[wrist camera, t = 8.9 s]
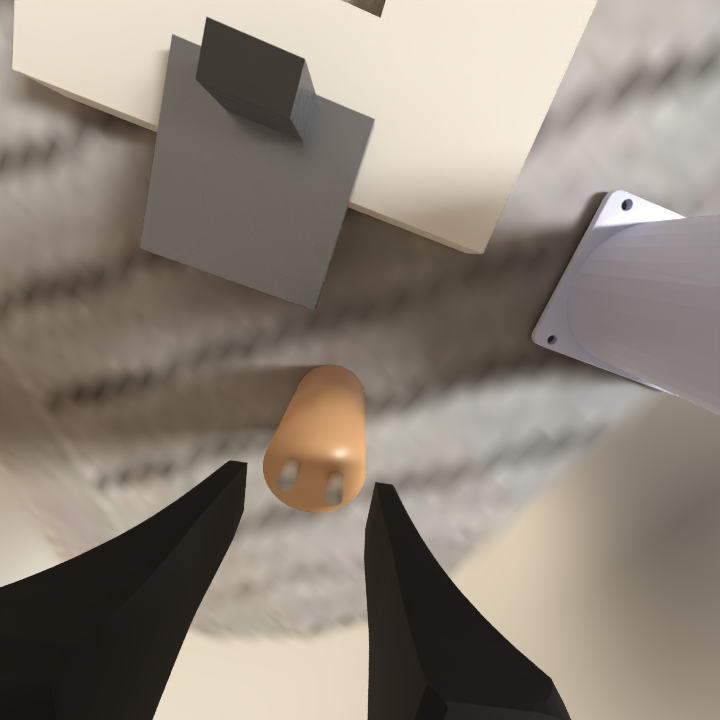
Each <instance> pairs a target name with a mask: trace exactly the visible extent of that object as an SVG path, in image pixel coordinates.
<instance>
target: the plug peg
mask: <svg viewBox="0 0 720 720" xmlns="http://www.w3.org/2000/svg"><path fill="white" fill-rule="evenodd" d="M365 472H366V460H365V392H364V388H363V386H362V384H361V382H360V380H359V379H358V378H357V377H356V376H355V375H354V374H353V373H352V372H351V371H349V370H347V369H345V368H343V367H340V366H335V365H324V366H320V367H317V368H314V369H313V370H311V371H309V372H308V373H307V374H306V375H305V376H304V377H303V378H302V380H301V381H300V383H299V385H298V387H297V389H296V391H295V393H294V396H293V398H292V400H291V402H290V404H289V406H288V408H287V410H286V412H285V414H284V416H283V418H282V420H281V422H280V424H279V426H278V428H277V430H276V433H275V435H274V437H273V439H272V441H271V443H270V445H269V447H268V449H267V451H266V454H265V457H264V461H263V473H264V477H265V480H266V483H267V485H268V487H269V488H270V490H271V491H272V493H273V494H274V495H275V496H276V497H277V498H278V499H279V500H281V501H282V502H283V503H285V504H286V505H288V506H290V507H292V508H295V509H297V510H300V511H305V512H311V513H322V512H329V511H333V510H336V509H339V508H341V507H343V506H345V505H346V504H348V503H349V502H350V501H352V500H353V499H354V498H355V497H356V496H357V494H358V493H359V492H360V490H361V488H362V486H363V483H364V480H365Z"/></svg>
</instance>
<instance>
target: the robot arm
mask: <svg viewBox="0 0 720 720" xmlns="http://www.w3.org/2000/svg"><path fill="white" fill-rule="evenodd" d="M623 201H626V204H627V206H626V209H625V210H622V207H621V205H622V202H623ZM552 335H553V340H552V341H551V342H550V343H548V342H547V340H548V338H549V337H550V336H552ZM531 337H532V341H533V342H534V343H536V344H537V345H540V346H542V347H545V348H548V349H550V350H553V351H556V352H558V353H561V354H564V355H566V356H569V357H572V358H575V359H577V360H580V361H583V362H585V363H588V364H591V365H593V366H596V367H599V368H602V369H604V370H607V371H610V372H612V373H615V374H618V375H620V376H623V377H626V378H628V379H631V380H634V381H637V382H639V383H642V384H645V385H647V386H650V387H653V388H655V389H658V390H661V391H663V392H666V393H669V394H672V395H675V396H679V397H681V398H684V399H686V400H688V401H690V402H692V403H695V404H697V405H699V406H701V407H703V408H705V409H707V410H710V411H712V412H714V413H716V414H718V415H720V214H719V215H709V216H700V217H690V218H687V217H684V216H682V215H680V214H677V213H675V212H673V211H670V210H668V209H666V208H663V207H661V206H659V205H656V204H654V203H652V202H650V201H647V200H645V199H643V198H640V197H638V196H636V195H633V194H631V193H629V192H626V191H624V190H615V191H611V192H609V193H608V194H606V196H605V197H604V199H603V200H602V202H601V204H600V206H599V208H598V210H597V212H596V214H595V215H594V217H593V219H592V221H591V223H590V225H589V227H588V229H587V231H586V232H585V234H584V236H583V238H582V240H581V242H580V244H579V246H578V247H577V249H576V251H575V253H574V255H573V257H572V259H571V261H570V263H569V264H568V266H567V268H566V270H565V272H564V274H563V276H562V278H561V279H560V281H559V283H558V285H557V287H556V289H555V291H554V293H553V295H552V296H551V298H550V300H549V302H548V304H547V306H546V308H545V310H544V311H543V313H542V315H541V317H540V319H539V321H538V323H537V325H536V327H535V328H534V330H533V332H532V335H531ZM246 475H247V463H245V462H238V461H231V460H230V461H228V462H227V463H225V464H224V465H223V466H221V467H220V468H219V469H218V470H216V471H215V472H214V473H213V474H211V475H210V476H209V477H207V478H206V479H205V480H203V481H202V482H201V483H200V484H198V485H197V486H195V487H194V488H193V489H191V490H190V491H189V492H187V493H186V494H185V495H183V496H182V497H180V498H179V499H178V500H176V501H175V502H173V503H172V504H170V505H169V506H167V507H166V508H164V509H163V510H161V511H160V512H158V513H157V514H155V515H154V516H152V517H150V518H149V519H147V520H146V521H144V522H142V523H141V524H139V525H137V526H135V527H134V528H132V529H130V530H128V531H126V532H125V533H123V534H121V535H119V536H117V537H115V538H113V539H111V540H109V541H107V542H105V543H103V544H101V545H99V546H97V547H95V548H93V549H91V550H89V551H87V552H85V553H83V554H81V555H79V556H77V557H74V558H72V559H70V560H68V561H65V562H63V563H61V564H59V565H56V566H54V567H52V568H49V569H47V570H45V571H42V572H40V573H37V574H35V575H32V576H30V577H27V578H25V579H22V580H19V581H17V582H14V583H11V584H8V585H6V586H3V587H0V720H153V717H154V715H155V712H156V709H157V707H158V704H159V701H160V699H161V696H162V694H163V691H164V689H165V686H166V684H167V681H168V679H169V676H170V674H171V671H172V668H173V666H174V663H175V661H176V659H177V656H178V654H179V651H180V649H181V646H182V644H183V641H184V639H185V637H186V634H187V632H188V629H189V627H190V624H191V622H192V620H193V618H194V616H195V614H196V611H197V609H198V607H199V605H200V603H201V601H202V599H203V597H204V595H205V593H206V591H207V589H208V588H209V586H210V584H211V582H212V580H213V578H214V576H215V574H216V572H217V570H218V568H219V566H220V564H221V562H222V560H223V558H224V556H225V554H226V552H227V550H228V548H229V546H230V544H231V542H232V540H233V538H234V535H235V533H236V530H237V527H238V525H239V522H240V519H241V516H242V514H243V511H244V500H245V488H246ZM364 564H365V580H366V596H367V611H368V627H369V685H368V686H369V688H368V720H571V718H570V716H569V714H568V712H567V709H566V707H565V705H564V703H563V701H562V699H561V697H560V695H559V693H558V691H557V689H556V687H555V685H554V683H553V681H552V679H551V678H550V677H549V676H547V675H546V674H545V673H544V672H543V671H542V670H541V669H539V668H538V667H537V666H536V665H535V664H534V663H533V662H531V661H530V660H529V659H528V658H527V657H526V656H524V655H523V654H522V653H521V652H520V651H519V650H517V649H516V648H515V647H514V646H513V645H512V644H511V643H510V642H509V641H508V640H507V639H506V638H504V636H503V635H501V634H500V633H499V632H498V631H497V630H496V629H495V628H494V627H493V626H492V625H491V624H490V623H489V622H488V621H487V620H486V619H485V618H484V617H483V616H482V615H481V614H480V612H479V611H478V610H477V609H476V608H475V607H474V606H473V605H472V604H471V603H470V602H469V600H468V599H467V598H466V597H465V596H464V595H463V594H462V593H461V591H460V590H459V589H458V588H457V587H456V585H455V584H454V583H453V582H452V580H451V579H450V578H449V577H448V575H447V574H446V573H445V571H444V570H443V569H442V567H441V566H440V565H439V563H438V562H437V560H436V559H435V558H434V556H433V555H432V553H431V552H430V550H429V549H428V547H427V546H426V544H425V542H424V541H423V539H422V538H421V536H420V534H419V533H418V531H417V529H416V528H415V526H414V524H413V522H412V521H411V519H410V517H409V515H408V513H407V511H406V510H405V508H404V506H403V504H402V502H401V500H400V498H399V496H398V494H397V492H396V489H395V488H394V486H393V485H391V484H384V483H378V482H375V487H374V491H373V496H372V500H371V505H370V509H369V514H368V519H367V523H366V528H365V549H364Z"/></svg>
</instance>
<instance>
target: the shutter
mask: <svg viewBox="0 0 720 720" xmlns="http://www.w3.org/2000/svg"><path fill="white" fill-rule="evenodd" d="M374 123H375V119H373V118H371V117H369V116H366V115H364V114H362V113H359V112H357V111H354V110H352V109H350V108H347V107H345V106H343V105H340V104H338V103H335V102H333V101H331V100H328V99H326V98H324V97H321V96H319V95H316V93H315V89H314V86H313V83H312V80H311V76H310V73H309V70H308V66H307V63H306V60H305V59H304V58H302V57H300V56H297V55H295V54H293V53H290V52H288V51H286V50H283V49H281V48H279V47H276V46H274V45H272V44H269V43H267V42H265V41H262V40H260V39H258V38H255V37H253V36H251V35H248V34H246V33H244V32H241V31H239V30H237V29H234V28H232V27H230V26H227V25H225V24H223V23H220V22H218V21H216V20H213V19H211V18H209V17H206V21H205V27H204V33H203V38H202V44H201V46H200V45H197V44H195V43H193V42H190V41H188V40H186V39H183V38H181V37H178V36H176V35H174V34H172V38H171V45H170V51H169V58H168V64H167V71H166V77H165V84H164V91H163V97H162V104H161V110H160V117H159V124H158V130H157V137H156V143H155V150H154V156H153V163H152V170H151V176H150V183H149V189H148V196H147V203H146V209H145V216H144V222H143V229H142V235H141V242H140V249H143V250H146V251H149V252H151V253H154V254H157V255H160V256H163V257H165V258H168V259H171V260H174V261H177V262H179V263H182V264H185V265H188V266H191V267H193V268H196V269H199V270H202V271H205V272H207V273H210V274H213V275H216V276H219V277H221V278H224V279H227V280H230V281H233V282H235V283H238V284H241V285H244V286H247V287H249V288H252V289H255V290H258V291H261V292H263V293H266V294H269V295H272V296H275V297H277V298H280V299H283V300H286V301H289V302H291V303H294V304H297V305H300V306H303V307H305V308H308V309H311V310H314V309H315V308H316V306H317V303H318V300H319V297H320V294H321V291H322V288H323V284H324V281H325V278H326V275H327V272H328V269H329V266H330V263H331V260H332V256H333V253H334V250H335V247H336V244H337V241H338V238H339V235H340V232H341V228H342V225H343V222H344V219H345V216H346V213H347V210H348V207H349V204H350V200H351V197H352V194H353V191H354V188H355V185H356V182H357V179H358V176H359V172H360V169H361V166H362V163H363V160H364V157H365V154H366V151H367V148H368V144H369V141H370V138H371V135H372V132H373V129H374Z"/></svg>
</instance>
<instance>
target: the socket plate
mask: <svg viewBox="0 0 720 720" xmlns="http://www.w3.org/2000/svg"><path fill="white" fill-rule="evenodd" d="M597 1H598V0H386V2H385V5H384V8H383V12H382V15H381V18H380V17H377V16H375V15H373V14H371V13H369V12H366V11H364V10H362V9H360V8H357V7H355V6H353V5H351V4H349V3H346V2H344V1H342V0H15V7H14V35H13V62H12V69H13V70H15V71H17V72H19V73H21V74H23V75H25V76H27V77H29V78H31V79H32V80H34V81H36V82H38V83H40V84H42V85H44V86H46V87H48V88H50V89H52V90H54V91H56V92H58V93H59V94H61V95H63V96H65V97H67V98H70V99H73V100H75V101H78V102H80V103H83V104H85V105H88V106H90V107H93V108H96V109H98V110H101V111H103V112H106V113H108V114H111V115H113V116H116V117H119V118H121V119H124V120H126V121H129V122H131V123H134V124H137V125H139V126H142V127H144V128H147V129H149V130H152V131H154V132H157V130H158V124H159V117H160V110H161V104H162V97H163V91H164V84H165V77H166V71H167V64H168V58H169V51H170V45H171V38H172V34H174V35H176V36H178V37H181V38H183V39H186V40H188V41H190V42H193V43H195V44H197V45H200V46H201V44H202V38H203V33H204V27H205V21H206V17H209V18H211V19H213V20H216V21H218V22H220V23H223V24H225V25H227V26H230V27H232V28H234V29H237V30H239V31H241V32H244V33H246V34H248V35H251V36H253V37H255V38H258V39H260V40H262V41H265V42H267V43H269V44H272V45H274V46H276V47H279V48H281V49H283V50H286V51H288V52H290V53H293V54H295V55H297V56H300V57H302V58H304V59H305V60H306V63H307V66H308V70H309V73H310V76H311V80H312V83H313V86H314V89H315V93H316V95H319V96H321V97H324V98H326V99H328V100H331V101H333V102H335V103H338V104H340V105H343V106H345V107H347V108H350V109H352V110H354V111H357V112H359V113H362V114H364V115H366V116H369V117H371V118H373V119H375V123H374V129H373V132H372V135H371V138H370V141H369V144H368V148H367V151H366V154H365V157H364V160H363V163H362V166H361V169H360V172H359V176H358V179H357V182H356V185H355V188H354V191H353V194H352V197H351V200H350V204H349V208H351V209H354V210H356V211H359V212H362V213H364V214H367V215H369V216H372V217H374V218H377V219H380V220H382V221H385V222H387V223H390V224H392V225H395V226H397V227H400V228H403V229H405V230H408V231H410V232H413V233H415V234H418V235H420V236H423V237H426V238H428V239H431V240H433V241H436V242H438V243H441V244H443V245H446V246H449V247H451V248H454V249H456V250H459V251H461V252H464V253H466V254H483V253H484V251H485V248H486V246H487V244H488V242H489V240H490V237H491V235H492V233H493V231H494V229H495V226H496V224H497V222H498V220H499V217H500V215H501V213H502V211H503V209H504V206H505V204H506V202H507V200H508V198H509V195H510V193H511V191H512V189H513V187H514V184H515V182H516V180H517V178H518V175H519V173H520V171H521V169H522V167H523V164H524V162H525V160H526V158H527V156H528V153H529V151H530V149H531V147H532V144H533V142H534V140H535V138H536V136H537V133H538V131H539V129H540V127H541V125H542V122H543V120H544V118H545V116H546V113H547V111H548V109H549V107H550V105H551V102H552V100H553V98H554V96H555V94H556V91H557V89H558V87H559V85H560V82H561V80H562V78H563V76H564V74H565V71H566V69H567V67H568V65H569V63H570V60H571V58H572V56H573V54H574V51H575V49H576V47H577V45H578V43H579V40H580V38H581V36H582V34H583V32H584V29H585V27H586V25H587V23H588V21H589V18H590V16H591V14H592V12H593V9H594V7H595V5H596V3H597Z"/></svg>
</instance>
